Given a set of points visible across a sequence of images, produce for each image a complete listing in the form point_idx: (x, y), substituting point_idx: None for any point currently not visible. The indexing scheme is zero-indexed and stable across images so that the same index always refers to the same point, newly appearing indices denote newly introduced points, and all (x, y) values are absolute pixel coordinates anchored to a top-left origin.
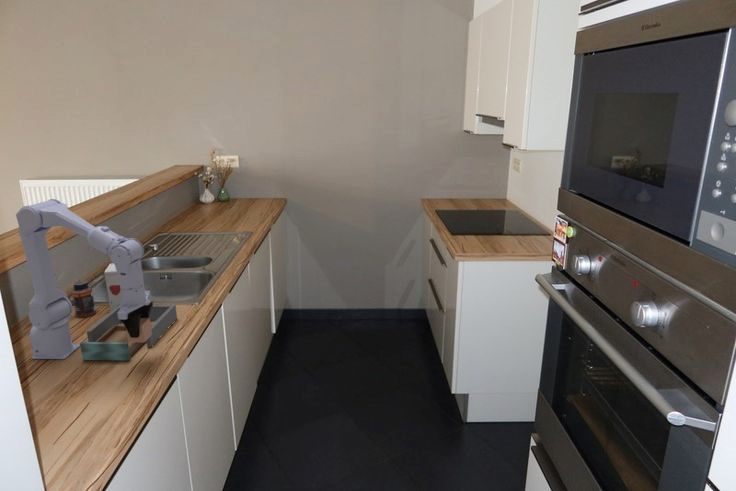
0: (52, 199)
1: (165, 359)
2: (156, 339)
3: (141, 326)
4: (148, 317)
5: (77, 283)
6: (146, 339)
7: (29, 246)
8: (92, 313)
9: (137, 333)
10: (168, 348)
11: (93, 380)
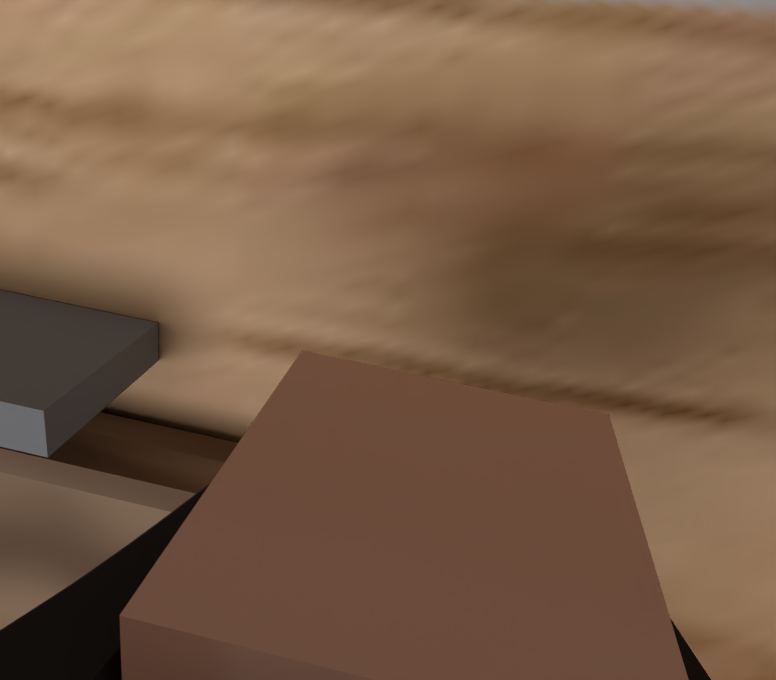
0: None
1: (429, 105)
2: (20, 307)
3: None
4: (52, 635)
5: None
6: (529, 406)
7: None
8: None
9: (695, 665)
10: (168, 136)
11: (706, 654)
